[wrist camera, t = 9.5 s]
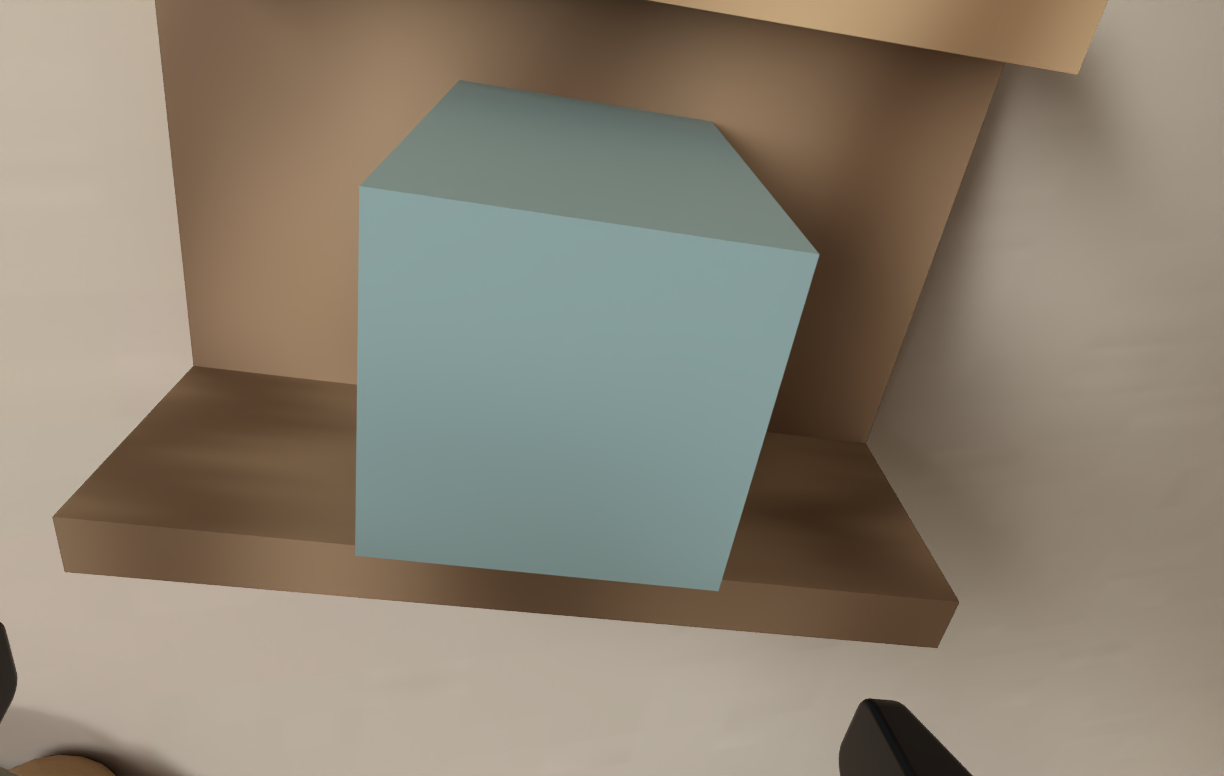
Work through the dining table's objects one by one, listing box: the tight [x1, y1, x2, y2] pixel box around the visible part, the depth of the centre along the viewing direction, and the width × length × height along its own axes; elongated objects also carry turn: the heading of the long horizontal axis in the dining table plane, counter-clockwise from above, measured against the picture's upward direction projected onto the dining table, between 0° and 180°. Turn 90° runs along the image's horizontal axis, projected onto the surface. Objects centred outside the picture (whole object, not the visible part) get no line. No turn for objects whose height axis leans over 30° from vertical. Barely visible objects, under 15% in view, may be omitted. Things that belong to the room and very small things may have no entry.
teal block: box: [355, 80, 819, 591], centre depth 13 cm, size 5×5×8 cm
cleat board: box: [53, 0, 1108, 648], centre depth 15 cm, size 16×11×7 cm
